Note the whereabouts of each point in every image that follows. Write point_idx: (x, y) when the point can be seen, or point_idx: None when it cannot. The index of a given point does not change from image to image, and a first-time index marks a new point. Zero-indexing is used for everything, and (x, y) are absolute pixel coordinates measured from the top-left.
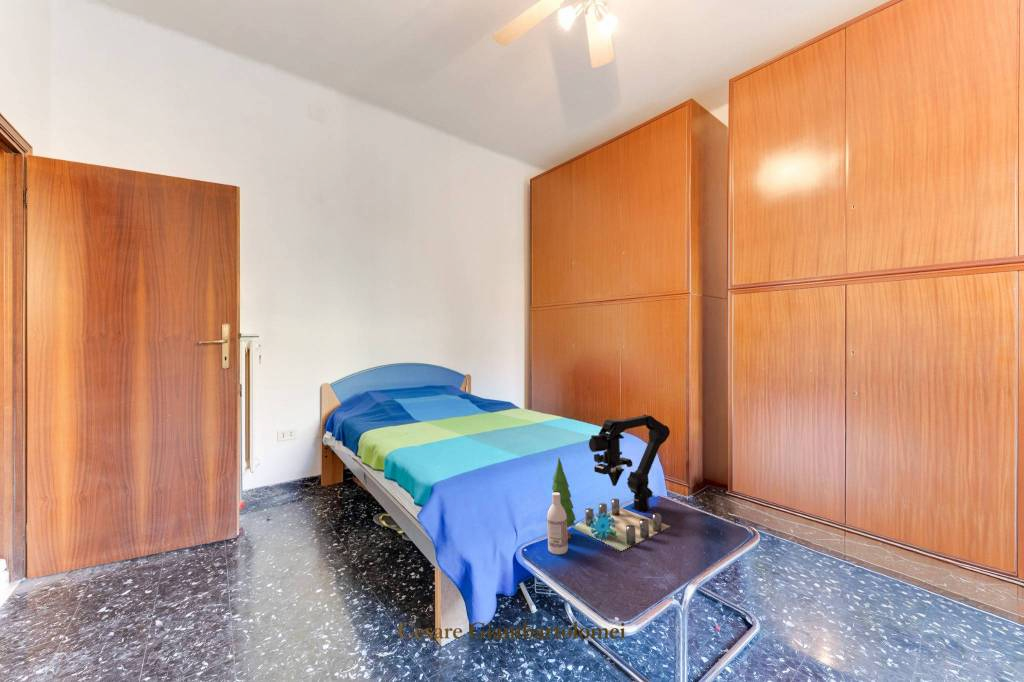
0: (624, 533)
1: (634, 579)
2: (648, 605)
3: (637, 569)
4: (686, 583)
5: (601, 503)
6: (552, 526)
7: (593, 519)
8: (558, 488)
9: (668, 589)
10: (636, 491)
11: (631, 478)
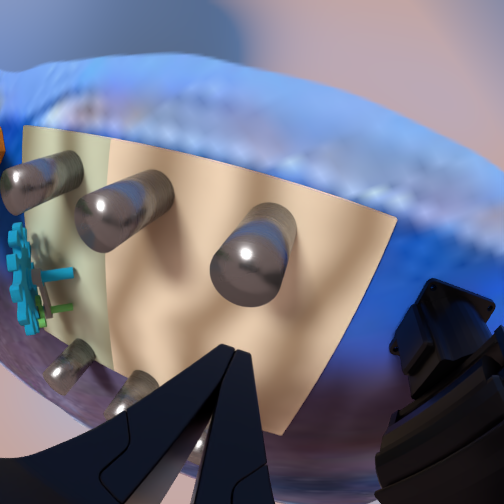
0: (112, 324)
1: (23, 358)
2: (14, 372)
3: (40, 362)
4: (79, 421)
5: (105, 205)
6: None
7: (9, 238)
8: None
9: (49, 398)
10: (390, 429)
11: (473, 474)
